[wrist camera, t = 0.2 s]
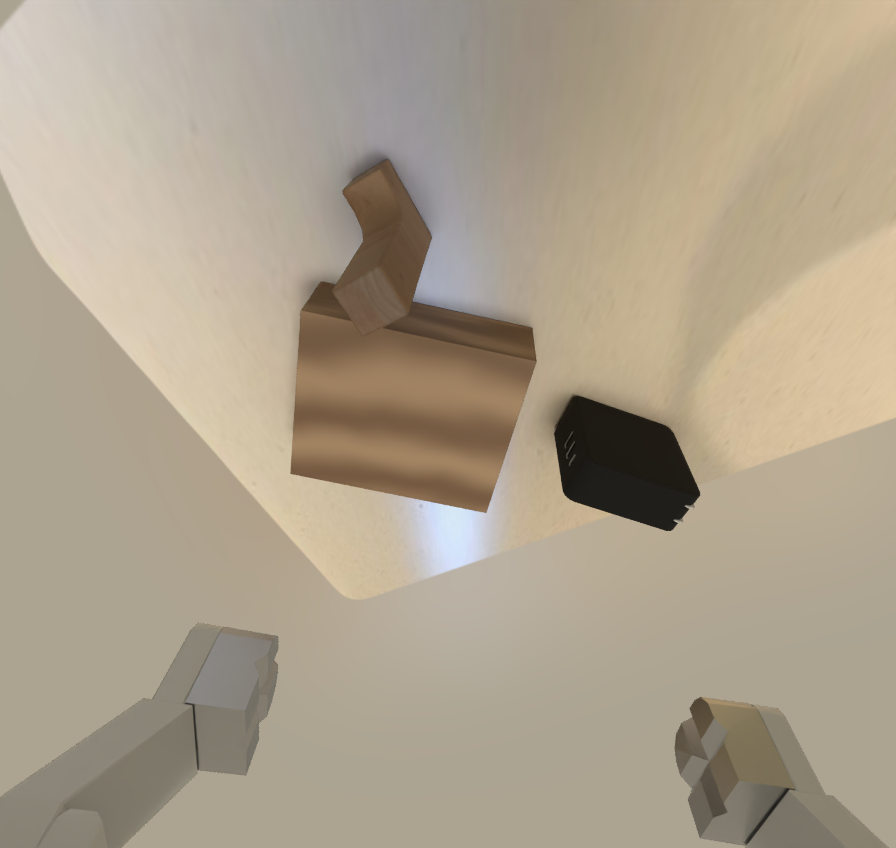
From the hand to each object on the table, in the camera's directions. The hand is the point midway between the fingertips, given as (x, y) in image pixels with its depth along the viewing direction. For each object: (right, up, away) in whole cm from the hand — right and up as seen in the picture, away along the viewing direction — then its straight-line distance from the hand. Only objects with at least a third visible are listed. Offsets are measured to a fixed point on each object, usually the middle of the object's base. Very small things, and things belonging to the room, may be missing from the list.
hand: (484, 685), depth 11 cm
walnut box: (-4, +9, +42) cm, 43 cm away
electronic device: (+15, +5, +43) cm, 46 cm away
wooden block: (-5, +22, +33) cm, 40 cm away
